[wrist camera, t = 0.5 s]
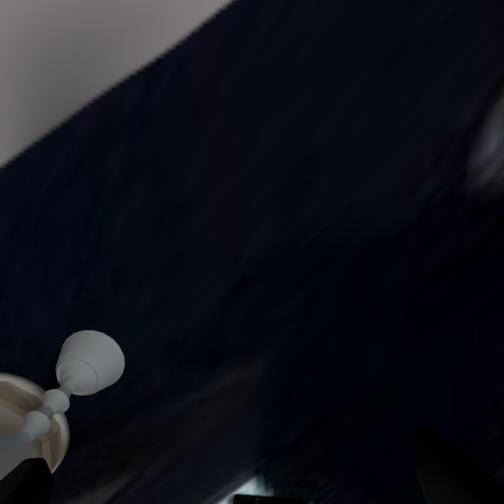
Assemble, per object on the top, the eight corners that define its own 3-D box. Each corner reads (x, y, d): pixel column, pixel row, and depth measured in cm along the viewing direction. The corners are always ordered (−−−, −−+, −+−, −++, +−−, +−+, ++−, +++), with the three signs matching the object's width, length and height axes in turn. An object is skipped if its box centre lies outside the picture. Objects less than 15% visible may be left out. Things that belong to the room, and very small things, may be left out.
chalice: (49, 310, 25) (-413, 620, 8) (139, 324, 26) (-126, 661, 8) (48, 393, 27) (-332, 797, 10) (132, 406, 27) (-96, 829, 10)
